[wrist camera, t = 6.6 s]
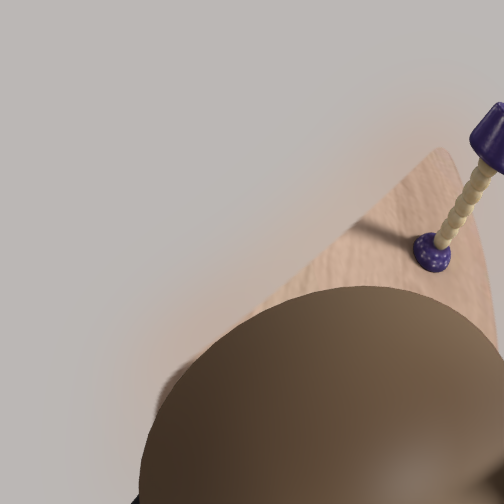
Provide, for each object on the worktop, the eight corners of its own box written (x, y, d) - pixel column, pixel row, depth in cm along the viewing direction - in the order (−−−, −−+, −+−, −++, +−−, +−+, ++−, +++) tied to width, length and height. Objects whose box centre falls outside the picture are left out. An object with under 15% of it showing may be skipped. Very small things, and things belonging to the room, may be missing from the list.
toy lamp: (401, 243, 26) (479, 94, 12) (427, 225, 28) (498, 92, 14) (432, 280, 24) (536, 143, 10) (456, 258, 25) (545, 133, 11)
